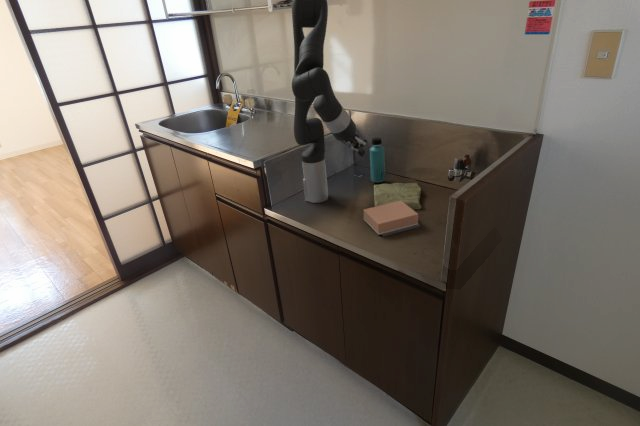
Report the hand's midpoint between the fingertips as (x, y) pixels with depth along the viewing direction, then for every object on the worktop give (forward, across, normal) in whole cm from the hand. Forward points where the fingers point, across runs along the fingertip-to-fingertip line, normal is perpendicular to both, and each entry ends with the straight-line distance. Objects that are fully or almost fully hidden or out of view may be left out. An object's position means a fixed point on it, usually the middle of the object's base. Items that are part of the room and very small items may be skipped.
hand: (362, 154), depth 130 cm
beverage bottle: (+38, +16, -5) cm, 41 cm away
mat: (+21, -12, +12) cm, 27 cm away
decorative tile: (+33, -1, 0) cm, 33 cm away
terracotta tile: (+14, -9, +16) cm, 23 cm away
